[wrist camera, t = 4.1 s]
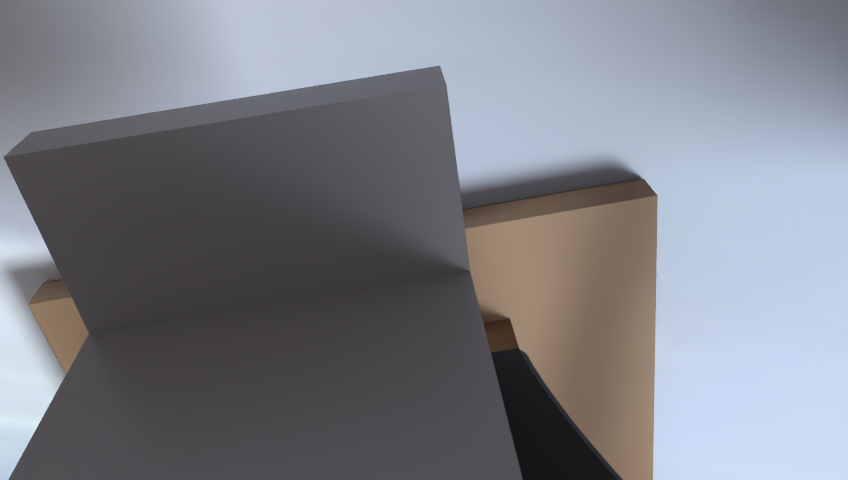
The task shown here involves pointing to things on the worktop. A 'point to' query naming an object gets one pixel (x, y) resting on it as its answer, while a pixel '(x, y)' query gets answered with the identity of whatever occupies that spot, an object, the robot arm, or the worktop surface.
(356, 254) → the servo block
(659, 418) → the worktop surface
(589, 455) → the robot arm
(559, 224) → the dock
